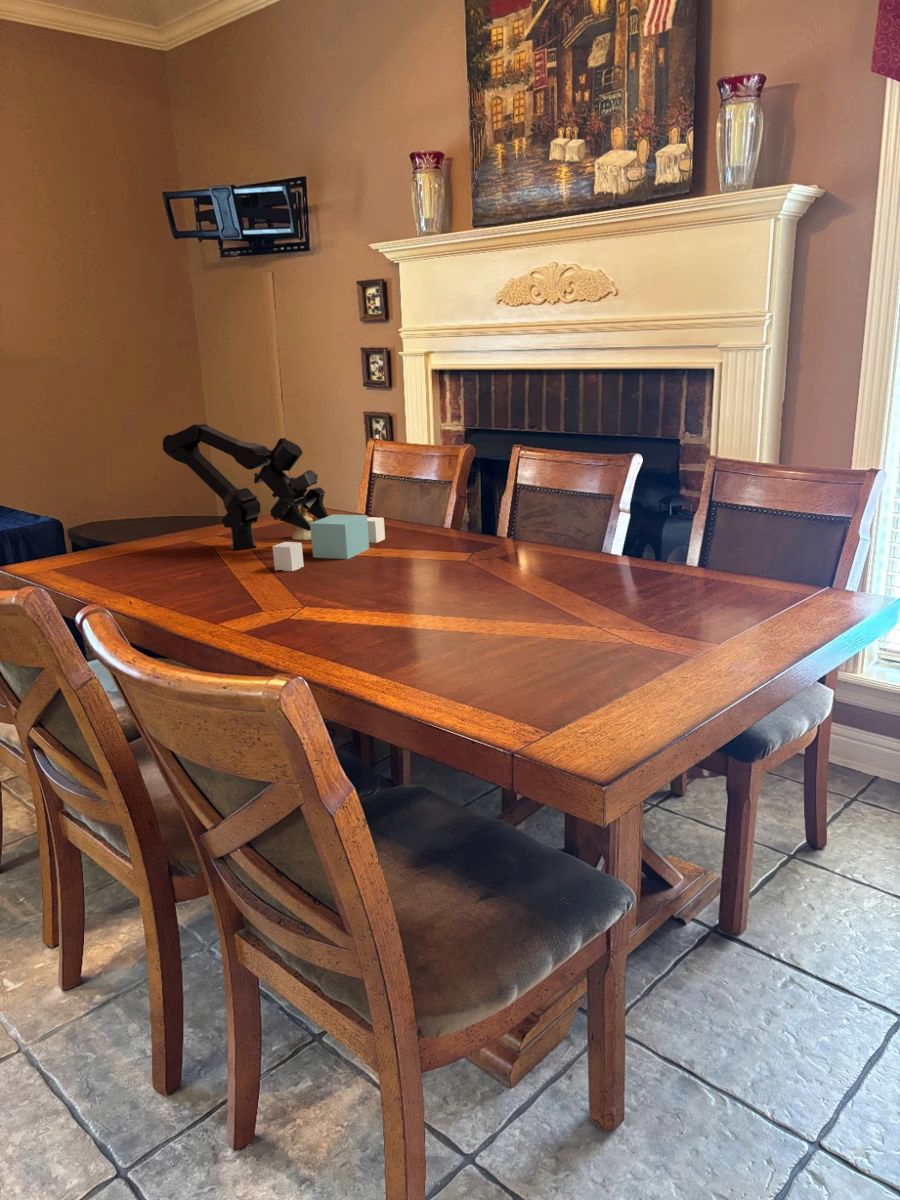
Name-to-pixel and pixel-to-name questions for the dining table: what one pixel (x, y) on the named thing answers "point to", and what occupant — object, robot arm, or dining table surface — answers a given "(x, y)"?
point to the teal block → (339, 536)
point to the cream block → (375, 529)
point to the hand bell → (300, 532)
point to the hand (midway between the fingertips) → (320, 526)
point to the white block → (288, 556)
